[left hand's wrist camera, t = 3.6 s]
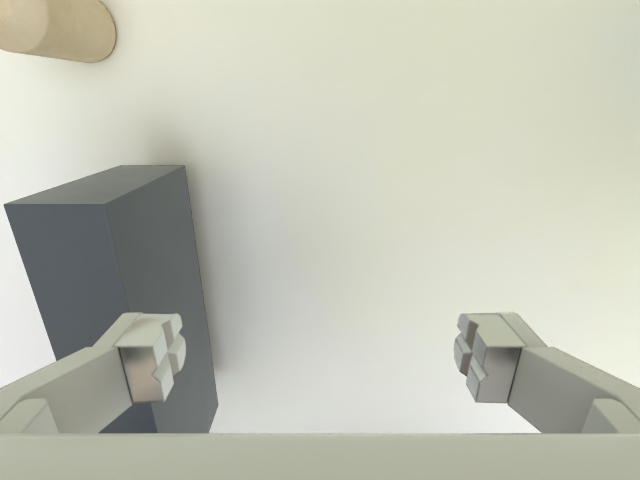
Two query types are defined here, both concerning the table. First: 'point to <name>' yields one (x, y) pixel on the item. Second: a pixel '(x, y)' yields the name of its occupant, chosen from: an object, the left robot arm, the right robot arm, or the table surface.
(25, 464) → the left robot arm
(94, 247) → the box
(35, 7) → the candle
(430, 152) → the table surface
